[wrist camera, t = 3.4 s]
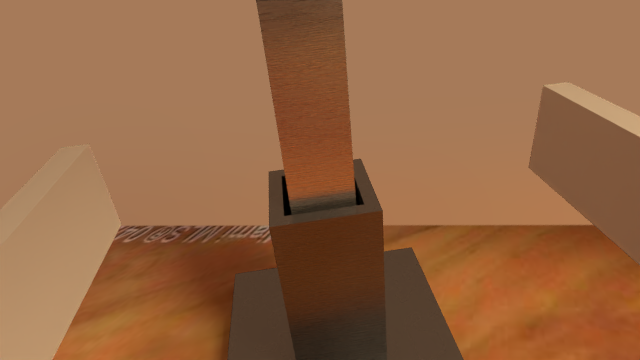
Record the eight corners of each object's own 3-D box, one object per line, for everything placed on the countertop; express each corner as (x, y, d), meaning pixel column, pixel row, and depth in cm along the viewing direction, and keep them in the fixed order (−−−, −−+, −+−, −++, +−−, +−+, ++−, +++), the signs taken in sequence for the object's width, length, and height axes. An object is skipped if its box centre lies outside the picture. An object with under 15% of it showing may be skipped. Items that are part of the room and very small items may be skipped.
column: (366, 294, 33) (339, -151, 19) (383, 354, 28) (363, -180, 14) (296, 305, 33) (215, -138, 19) (301, 368, 28) (197, -162, 14)
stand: (411, 260, 39) (413, 119, 32) (490, 437, 25) (524, 259, 18) (238, 286, 38) (201, 148, 31) (222, 482, 25) (149, 316, 17)
